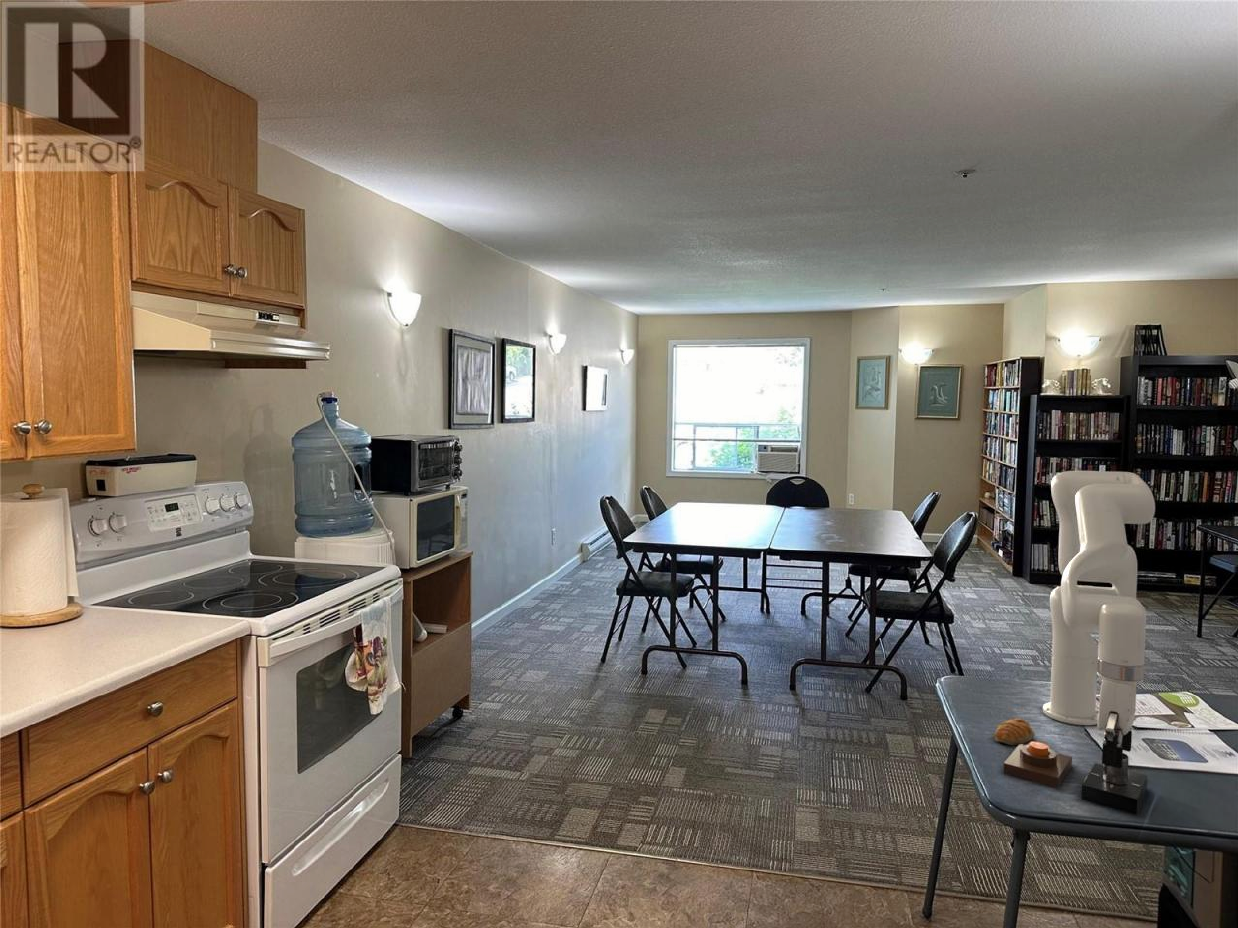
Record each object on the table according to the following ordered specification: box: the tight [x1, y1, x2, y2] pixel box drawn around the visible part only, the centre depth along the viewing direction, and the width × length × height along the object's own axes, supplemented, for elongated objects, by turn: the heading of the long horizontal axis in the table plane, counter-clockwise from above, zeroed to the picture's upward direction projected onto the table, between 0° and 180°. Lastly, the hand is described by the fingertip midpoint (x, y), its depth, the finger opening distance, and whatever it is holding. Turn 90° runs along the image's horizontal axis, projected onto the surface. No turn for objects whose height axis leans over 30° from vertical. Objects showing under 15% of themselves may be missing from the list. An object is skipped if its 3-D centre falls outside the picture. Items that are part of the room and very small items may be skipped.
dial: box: [1103, 752, 1130, 785], centre depth 157 cm, size 4×4×5 cm
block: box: [1003, 743, 1073, 789], centre depth 168 cm, size 12×10×4 cm
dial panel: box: [1081, 762, 1149, 816], centre depth 157 cm, size 12×9×3 cm
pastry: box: [994, 718, 1036, 746], centre depth 182 cm, size 9×7×4 cm
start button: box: [1028, 741, 1050, 756], centre depth 167 cm, size 4×4×2 cm
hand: (1116, 757), depth 156 cm, fingers open, 9 cm apart
